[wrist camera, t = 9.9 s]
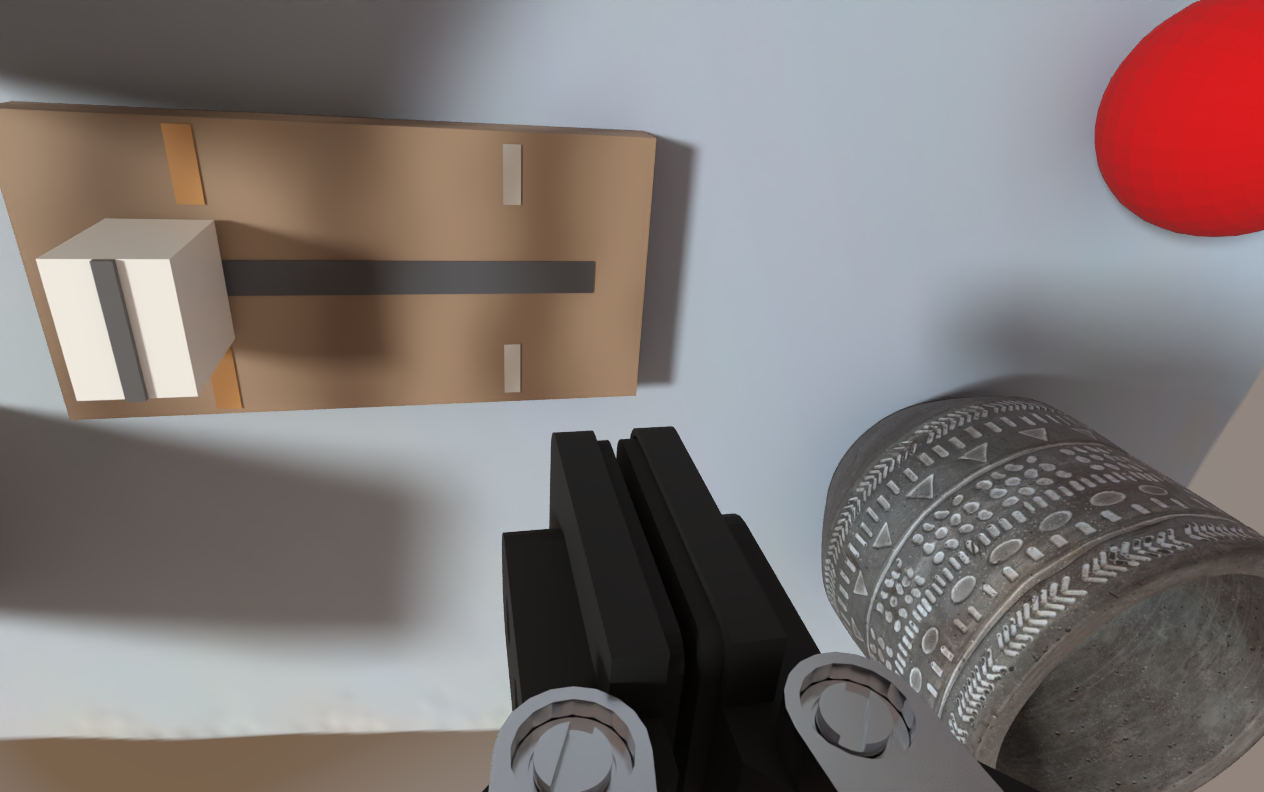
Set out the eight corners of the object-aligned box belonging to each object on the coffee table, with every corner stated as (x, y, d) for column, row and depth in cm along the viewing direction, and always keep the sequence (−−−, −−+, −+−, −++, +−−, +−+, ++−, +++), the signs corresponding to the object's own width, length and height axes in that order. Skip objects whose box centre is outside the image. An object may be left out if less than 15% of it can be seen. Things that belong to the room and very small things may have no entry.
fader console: (642, 130, 27) (657, 138, 25) (625, 375, 32) (636, 396, 30) (11, 101, 22) (-25, 107, 21) (93, 394, 27) (69, 420, 25)
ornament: (1011, 194, 32) (1224, 256, 24) (1101, -37, 29) (1392, -65, 20) (1163, 221, 35) (1405, 286, 26) (1263, 12, 31) (1583, 6, 23)
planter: (770, 407, 34) (977, 639, 21) (1040, 325, 36) (1384, 493, 23) (796, 621, 41) (964, 895, 28) (1022, 544, 43) (1278, 769, 30)
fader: (213, 219, 23) (166, 261, 19) (235, 338, 25) (196, 399, 21) (105, 218, 22) (31, 261, 18) (134, 340, 24) (73, 404, 20)
